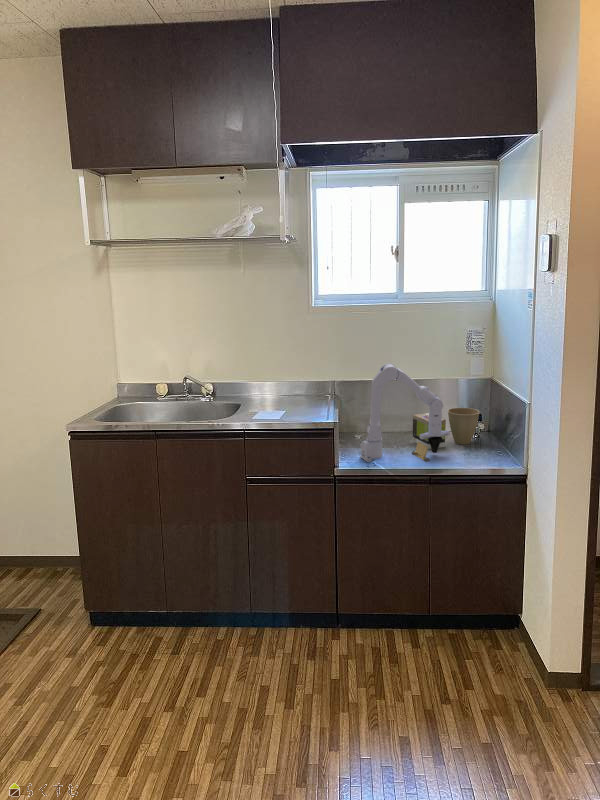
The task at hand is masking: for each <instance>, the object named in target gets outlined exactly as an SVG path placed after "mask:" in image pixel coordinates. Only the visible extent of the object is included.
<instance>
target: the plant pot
mask: <svg viewBox="0 0 600 800" xmlns="http://www.w3.org/2000/svg"><path fill="white" fill-rule="evenodd" d="M447 415H448V422H449V427H450V432H451V435H452V438H453V441H454V443H455V444H457V445H463V444H464V445H469V444H471V443H472V439H473V437H474V435H475V432H476V429H477V426H478V423H479V416H480V410H478V409H476V408H471V407H470V408H469V407H451V408H449V409H448V410H447Z"/></svg>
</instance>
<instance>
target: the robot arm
mask: <svg viewBox="0 0 600 800" xmlns="http://www.w3.org/2000/svg"><path fill="white" fill-rule="evenodd" d="M393 381H397V382H402V383H404V385H406V386H408V387H409V388H410V389H411V390H413V391H414V392H415V393H414V394H415V396H416V397H417V398H418V399H419V400H420V401H421V402H423V403H424V404H425V405H428V407H429V410H428V411H429V412H428V413H429V430H428V432H427V433H423V434H420V439H425V438H427V439H428V441H429V443H430V445H431V449H430V450H431V452H432V453H433V454H436V453H438V450H439V448H438V447H439V445H440V443H441V441H442V437H441V436H445V437H446V436H447V437H449V436H450V435H451V433H450V432H451V430H445V431H441V427H442V418H443V417H442V416H443V415H442V414H443V413H442V412H443V411H442V410H443V408H444V403H443V401H442V400H441V399H440V397H439V396H438V394H436V393H433V392H432V391H431V390H430V387H428V386H425V385H420V384H418V383H417V382H416V381H415V380H414V379H412V377H410V376H409V374H407V373H406V372H404V371H403V370H402V369H400V368H399V367H396V365H394V364H393V363H386V364H383V365H382V366H381V367H380V368H379V370H378V372H377V373H376V374H375V375H374V377H373V378H372V381H371V397H370V413H369V415H370V417H369V423H368V425H367V427H366V432H367V436H366V440H362V441H361V442H360V456H359V458H361V459H363V460H364V461H365V462H367V463H370V462H375V459H381V458H382V457H383V433H382V429H381V416H382V415H381V413H382V400H383V399H382V396H383V387H384V386H385V385H387V383H390V382H393Z"/></svg>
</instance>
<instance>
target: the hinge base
mask: <svg viewBox="0 0 600 800" xmlns="http://www.w3.org/2000/svg"><path fill="white" fill-rule="evenodd" d="M415 451H416V450H413V451H412V452H411V455H413V456H415V455H414V454H415V453H416V452H415ZM430 461H431V459H430V458H429V457H425V458H424V460H423V462H424V463H425V462H430Z"/></svg>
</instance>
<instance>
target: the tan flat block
mask: <svg viewBox="0 0 600 800" xmlns="http://www.w3.org/2000/svg"><path fill="white" fill-rule="evenodd" d="M415 447H416V448H415V450H414V451H415V452H416V453H415V454H414V455H413V456H415V457H417V458H418V459H421V460H422V461H424V458H427V453H428V450H429V449H428V447H427V446H425V445H423V444H422V443H420V442H418V443H416V446H415Z"/></svg>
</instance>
